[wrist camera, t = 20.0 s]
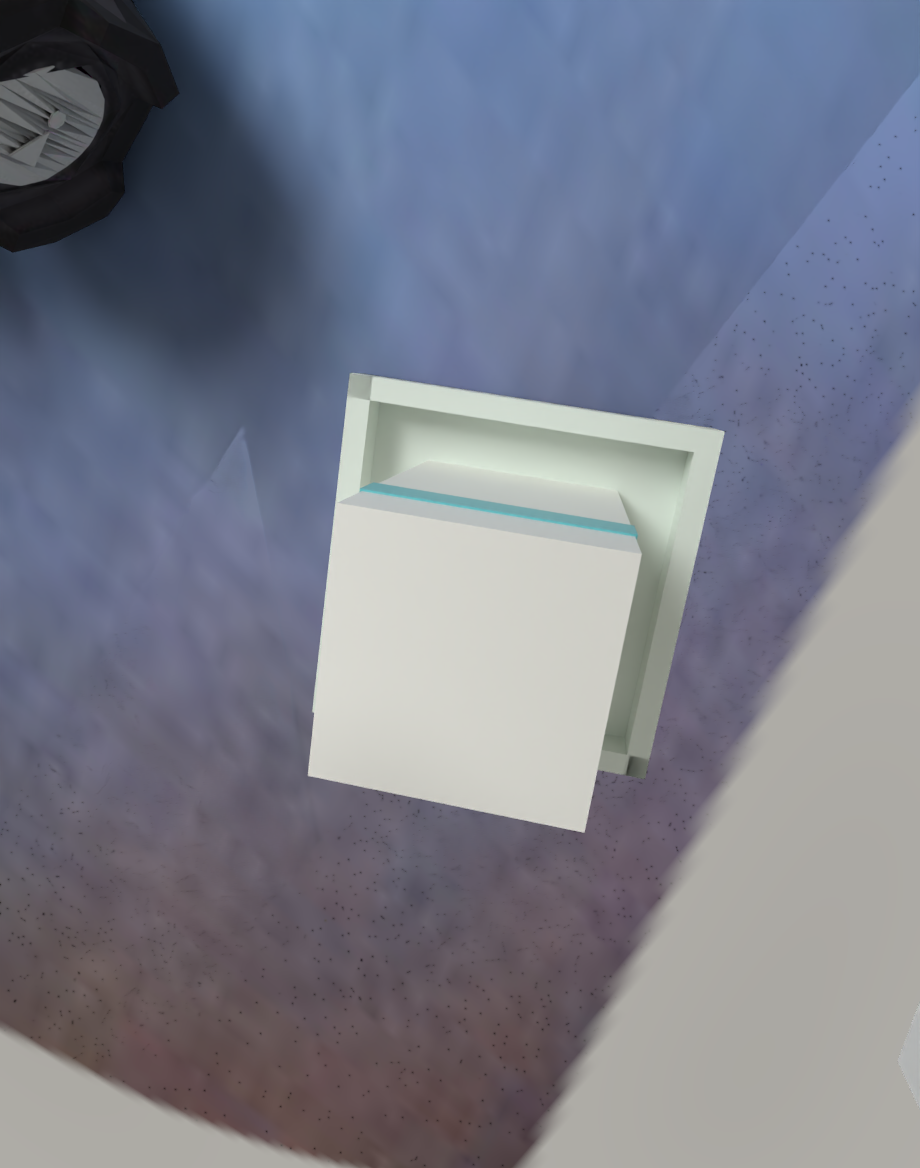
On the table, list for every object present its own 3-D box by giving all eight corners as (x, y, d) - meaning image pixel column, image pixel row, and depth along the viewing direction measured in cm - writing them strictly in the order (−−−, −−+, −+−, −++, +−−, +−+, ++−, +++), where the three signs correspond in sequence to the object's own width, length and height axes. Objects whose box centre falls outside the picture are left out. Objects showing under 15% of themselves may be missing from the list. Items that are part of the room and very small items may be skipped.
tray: (366, 374, 26) (349, 372, 24) (713, 428, 25) (724, 431, 23) (329, 691, 28) (312, 711, 27) (640, 753, 27) (644, 779, 26)
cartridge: (426, 458, 25) (334, 499, 16) (619, 489, 25) (644, 552, 15) (402, 639, 27) (305, 777, 17) (583, 672, 26) (586, 835, 17)
